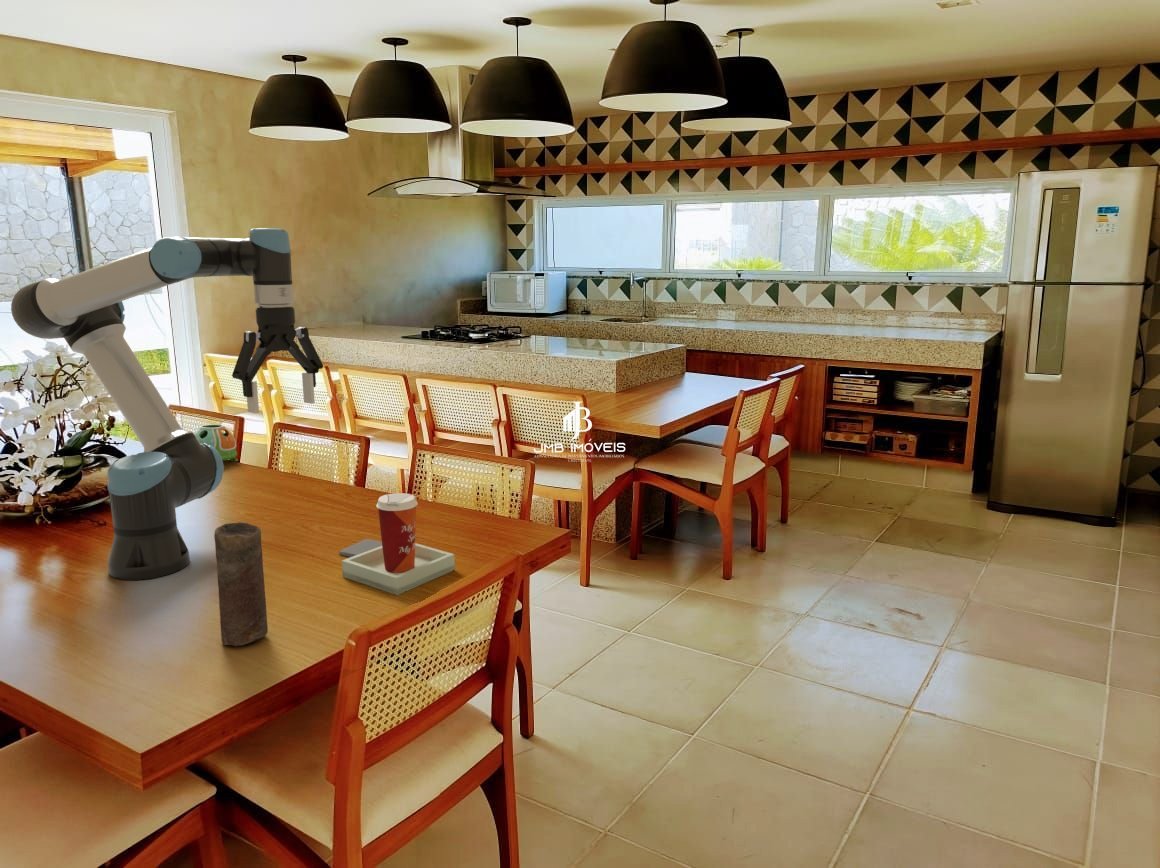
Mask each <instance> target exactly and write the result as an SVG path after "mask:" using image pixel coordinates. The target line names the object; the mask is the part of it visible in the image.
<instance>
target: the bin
mask: <svg viewBox="0 0 1160 868" xmlns="http://www.w3.org/2000/svg"><path fill="white" fill-rule="evenodd" d="M455 567H456V565H455V554H454V553H451V552H448V551H445V550H442V549H441V550H440V549H437V548H435V547H429V546H427V545H424V544H419V543H416V542H415V564H414V568H413V569H411V570H409V571H406V572H403V573H391V572H388V571H386V570H385V565H384V557H383V548H382V546H380V547H377V548H375V549H372V550H369V551H366V552H364V553H361V554H358V555H356V556H353V557H348V558H347V557H346V559H343V560H341V569H342V578H346V579H348V580H351V581H354V582H357V583H360V584H362V585H365V586H369V587H372V588H375V589H377V590H381V591H383V592H387V593H389V594H392V595H395V594H396V596H399V595H401V594H403V593H406V592H408V591H410V590H412V589H414V588H416V587H419V586H422V585H424V584H426V583H429V582H430V581H433V580H435V579H437V578H439V577H442V576H444V575H446V574H449V573H451V572H453V570H454V571H455V569H456V568H455ZM405 591H406V592H405Z"/></svg>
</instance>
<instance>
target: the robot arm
mask: <svg viewBox="0 0 1160 868" xmlns="http://www.w3.org/2000/svg"><path fill="white" fill-rule="evenodd" d="M291 254H292V250H291V244H290V237H289V233H288V231H287V230H285V229H283V228H272V227H271V228H270V227H269V228H268V227H264V228H263V227H260V228H258V227H257V228H256V227H255V228H251V229H249V236H248V237H247V238H223V237H193V236H192V237H189V236H178V235H174V236H169V237H162V238H159V239H158V240H157V241H156V242H155V243H154V244H153V245H152V246H151V247H148V248H147V249H143V250H141V251H138V252H135V253H133V254H130V255H126V256H124V257H121V258H118V259H116V260H113V261H110V262H107V263H104V264H101V265H99V266H95V267H92V268H89V269H87V270H84V271H81V272H79V273H76V274H72V275H71V276H67V277H64V278H62V279H57V278H45V279H42V280H39V281H37V282H33V283H30V284H27V285H25V286H22V287H21V288H20V289H18V290H17V291H16V293H15V294H14V296H13V297H12V301H11V304H10V305H11V308H10V311H11V316H12V319H13V321H14V322H15V323H16V325H17V326H18V327H19V328H20V329H21V330H22V331H23V332H25V333H27V334H28V335H31V336H33V337H35V338H38V339H45V340H46V339H48V340H52V339H63V338H64V340H65V342H66V343H67V345H68V346H69V347H70V349H71V351H72V352H74V353H76V354H80V355H81V354H82V356H83V355H84V357H85V358H86V359H87V361H88V363H89V365H90V366H91V368H92V369H93V371H94V372H95V374H96V375H97V377H98V379H99V380H100V382H101V384H102V385H103V386H104V388H105V389H106V391H107V392H108V394H109V396H110V398H112V400H113V402H114V403H115V405H116V406H117V408H118V410H119V411H120V413H121V414H122V416H123V417H124V419H125V421H126V422H127V423H128V426H130V428H131V429H132V432H133V433H134V435H135V436H136V437H137V439H138V441H139V442H140V444H141V445H142V447H143V451H142V452H139V453H136V454H130V455H126V456H124V457H121V458H119V459H117V460H115V461H114V462H113V463H111V464H110V466H109V467H108V469H107V482H106V483H107V484H106V487H107V488H106V489H107V491H108V496H109V498H108V499H109V505H110V512H111V519H112V525H113V536H114V537H113V541H112V544H111V549H110V553H109V556H108V562H107V568H108V574H109V576H111V578H115V579H118V580H123V581H124V580H126V581H134V580H136V581H138V580H139V581H140V580H141V581H142V580H148V579H156V578H160V577H164V576H168V575H171V574H174V573H176V572H178V571H180V570H183V569H184V568H186V567H187V566H188V565H189V564H190V561H191V559H190V551H189V548H188V546H187V545H186V542H185V540H184V538H183V536H182V535H181V532H180V530H179V529H178V523H177V514H176V508H179V507H181V506H184V505H186V504H188V503H191V502H192V501H195V500H197V499H198V500H199V499H202V498H204V497H205V496H207V495H208V494H210V493H212V492H213V491H215V490H216V489H217V488H218V487H219V486H220V485H221V482H222V480H223V475H224V471H225V469H224V468H225V467H224V462H223V461H224V460H222V458H221V456H220V454H219V452H218V451H217V450H216V449H215V448H214V447H213V446H211V445H207V444H206V443H202V442H201V443H199V441H198V440H197V438H196V437H195V435H194V434H195V433H194V432H193V431H192V430H191V431H190V430H187V429H183V428H182V427H181V425H180V424H179V422H178V420H177V419H176V418H175V416H174V414H173V412H172V411H171V409H170V408H169V407H168V405H167V404H166V402H165V400H164V399H163V397H162V396H161V394H160V392H159V391H158V389H157V387H156V386H155V384H154V383H153V381H152V380H151V378H150V376H149V375H148V373H147V372H146V371H145V369H144V367H143V366H142V365H141V363H140V361H139V359H138V358H137V356H136V355H135V353H134V352H133V350H132V349H131V347H130V345H129V344H128V342H127V341H126V339H125V338H124V334H125V332H126V327H127V326H125V324H124V321H125V318H126V317H125V315H126V314H125V313H124V312H125V310H126V309H125V305H124V302H123V301H126V300H128V299H132V298H135V297H138V296H141V295H143V294H146V293H149V292H152V291H155V290H158V289H160V288H164V287H166V286H170V285H173V284H177V283H179V282H182V281H185V280H189V279H192V278H193V279H194V278H206V277H230V276H231V277H236V276H237V277H239V276H241V277H243V276H244V277H245V276H247V277H252V281H253V282H252V283H253V296H254V304H255V305H257V307H256V308H255V318H256V319H255V320H256V321H255V322H256V325H257V327H258V328H257V329H258V330H257V332H256V331H249V330H248V331H247V330H246V331H244V332H243V343H242V346H241V349H240V351H239V354H238V358H237V360H236V363H235V366H234V368H233V371H232V374H231V377H232V379H236V380H239V381H241V383H242V394H243V397H245V398H246V403H247V412H248V413H252V414H259V413H260V407H259V406H260V405H259V396H258V395H259V394H258V383H257V380H254V379H255V377H256V376H257V373H258V372H259V370H260V369H261V367H262V365H263V364H264V362H265V360H266V359H267V357H268V356H269V355H270V354H271V353H277V352H282V351H284V352H286V351H287V352H289V354H290V355H291V356H292V357H293V358H294V360H295V361H296V362H297V363H298V364H299V365H300V367H301V368H302V369H303V370H304V371H305V372H301V380H302V393H303V394H302V395H303V403H305V404H310V405H311V404H315V389H314V388H316V386H317V381H316V379H317V378H316V374H318V373H319V370H322V369H323V368H324V364H323V362H322V359H320V356H319V355H318V353H317V350H316V348H315V345H314V344H313V342H312V340H311V339H310V334H309V328H307V327H305V326H304V327H303V326H297V327H296V328H295V323H296V315H295V314H296V313H295V307H294V306H292V305H293V304H294V301H295V300H294V287H293V286H294V284H293V279H292V278H293V276H292V275H293V274H292V273H293V272H292V257H291V256H292V255H291ZM295 338H297V341H298V343H299V344H300V346H301V348H302V350H301V349H300V346H299V345H298V343H297V342H296V341H295ZM258 341H259V344H257V342H258ZM256 346H257V347H256ZM255 350H256V351H255ZM254 351H255V353H254Z"/></svg>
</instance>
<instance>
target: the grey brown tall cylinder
mask: <svg viewBox="0 0 1160 868" xmlns="http://www.w3.org/2000/svg"><path fill="white" fill-rule="evenodd" d="M213 537H214V545H215V547H214V548H215V549H214V550H215V560H216V573H217V574H216V577H217V588H218V604H219V606H218V607H219V620H220V621H219V623H220V635H221V643H222V644H223V646H235V647H240V646H245V645H246V644H250V643H253V642H257V641H259V640H261V639H263V638H265V636H267V633H268V631H269V630H268V614H267V601H266V600H267V599H266V591H265V589H266V588H265V587H266V586H265V574H264V560H263V547H262V530H261V528H260V527H259V526H257V525H254V524H250V523H248V522H240V521H239V522H232V523H231V522H230V523H229V522H228V523H224V524H223V525H220V526H218V527H216V528H215V530H214V535H213Z"/></svg>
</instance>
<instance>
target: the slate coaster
mask: <svg viewBox="0 0 1160 868" xmlns="http://www.w3.org/2000/svg"><path fill="white" fill-rule="evenodd" d="M380 546H382V540H381V541H380V540H374V539H370V538H364V539H362V540H361V541H358V542H356V543H354V544H352V545H349V546H348V547H345V548H343V549H340V550H339V551H338V554H339V555H340V556H343V557H348V558H350V557H353V556H356V555H358V554H361V553H364V552H366V551H369V550H372V549H375V548H377V547H380Z"/></svg>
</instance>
